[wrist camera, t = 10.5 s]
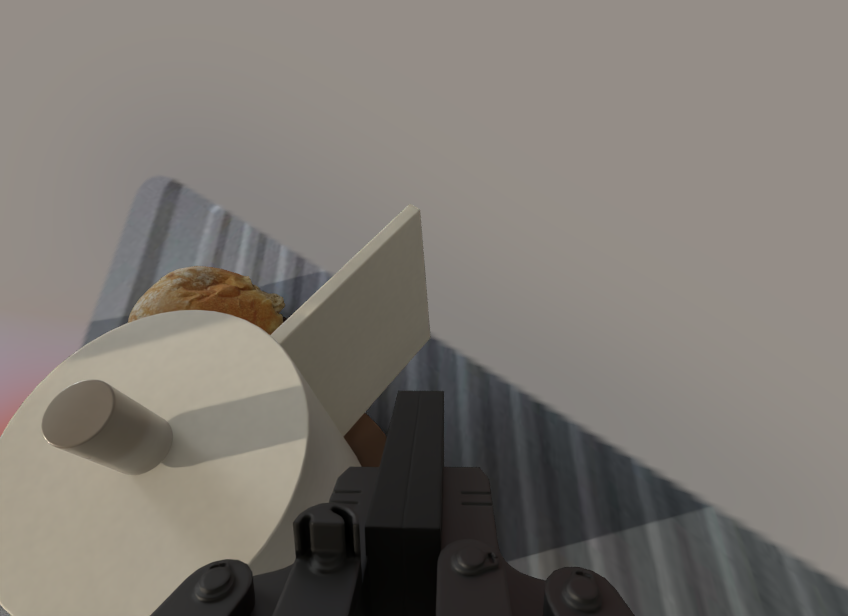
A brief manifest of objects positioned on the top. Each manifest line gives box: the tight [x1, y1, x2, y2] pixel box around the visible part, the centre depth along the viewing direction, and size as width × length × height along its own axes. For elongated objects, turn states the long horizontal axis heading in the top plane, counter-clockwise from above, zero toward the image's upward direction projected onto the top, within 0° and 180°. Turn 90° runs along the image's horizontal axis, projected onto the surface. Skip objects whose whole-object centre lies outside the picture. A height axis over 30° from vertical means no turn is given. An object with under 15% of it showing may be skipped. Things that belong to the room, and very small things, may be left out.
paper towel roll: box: [0, 204, 430, 616], centre depth 21 cm, size 18×10×12 cm, turn 124°
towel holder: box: [41, 379, 387, 475], centre depth 19 cm, size 14×14×18 cm
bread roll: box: [128, 266, 287, 335], centre depth 31 cm, size 10×10×8 cm
